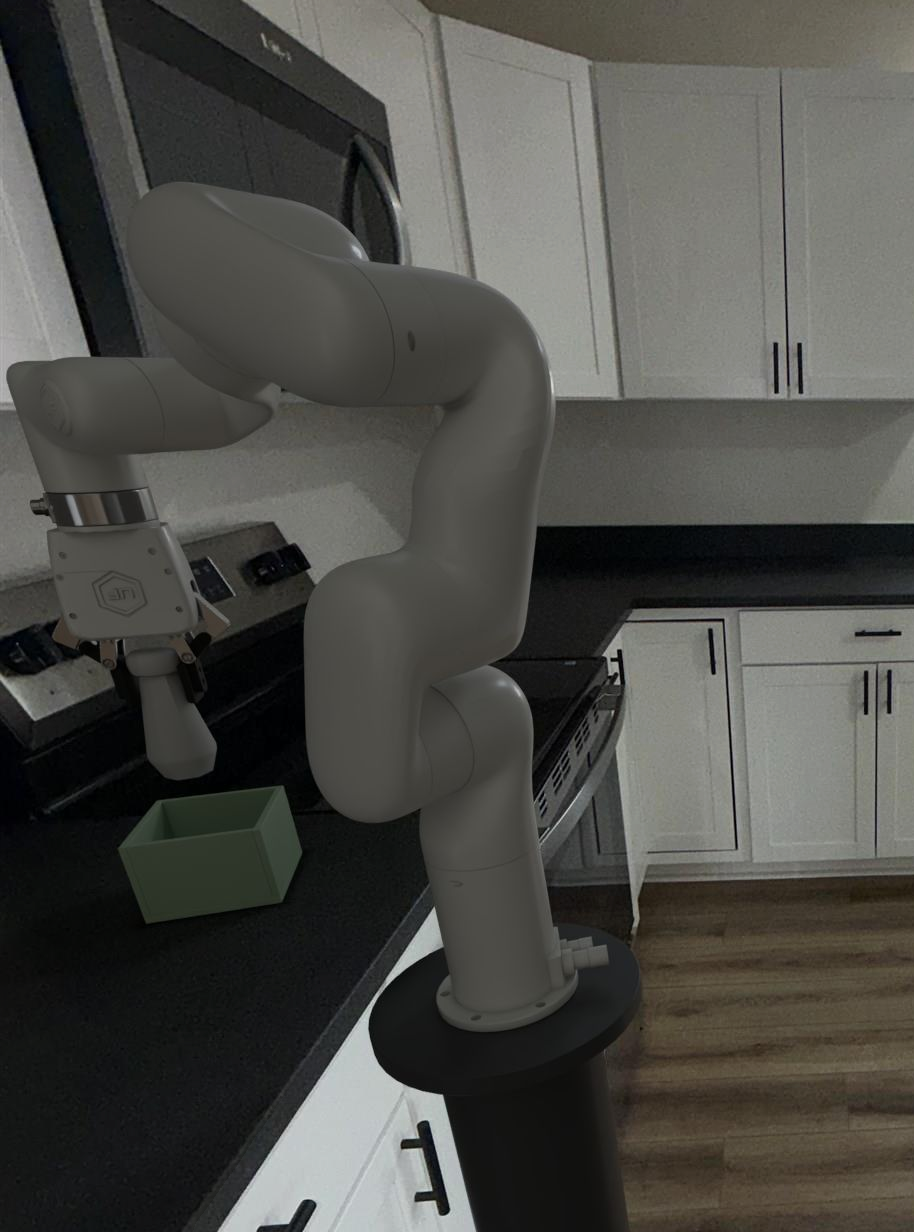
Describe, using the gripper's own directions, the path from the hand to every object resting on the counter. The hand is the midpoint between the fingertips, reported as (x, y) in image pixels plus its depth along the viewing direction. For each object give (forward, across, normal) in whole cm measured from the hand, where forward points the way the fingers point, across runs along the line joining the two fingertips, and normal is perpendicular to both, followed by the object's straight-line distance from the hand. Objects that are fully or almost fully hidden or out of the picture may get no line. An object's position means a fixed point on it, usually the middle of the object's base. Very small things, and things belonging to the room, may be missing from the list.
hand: (167, 700), depth 91 cm
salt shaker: (+8, 0, 0) cm, 8 cm away
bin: (+22, -1, +2) cm, 22 cm away
